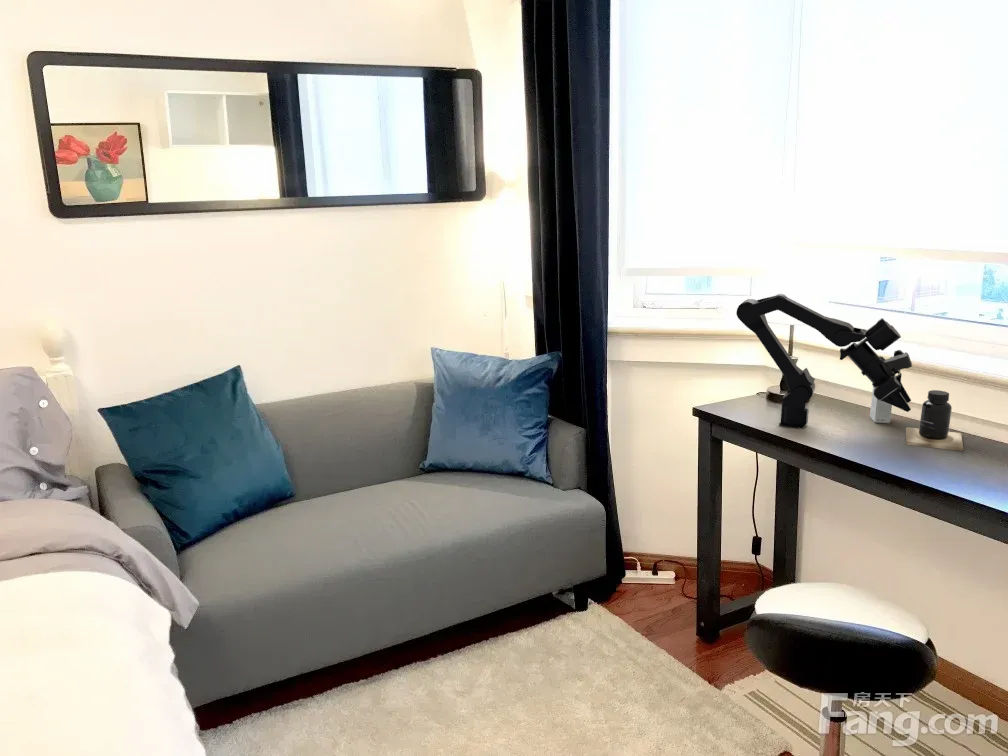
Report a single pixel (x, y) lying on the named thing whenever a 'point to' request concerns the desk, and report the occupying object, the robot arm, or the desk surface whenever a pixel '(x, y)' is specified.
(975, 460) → the desk surface
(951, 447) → the birch coaster
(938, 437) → the supplement bottle
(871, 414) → the skincare box
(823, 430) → the desk surface
